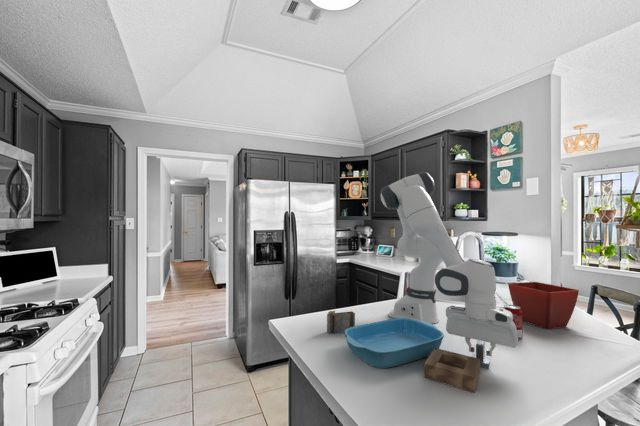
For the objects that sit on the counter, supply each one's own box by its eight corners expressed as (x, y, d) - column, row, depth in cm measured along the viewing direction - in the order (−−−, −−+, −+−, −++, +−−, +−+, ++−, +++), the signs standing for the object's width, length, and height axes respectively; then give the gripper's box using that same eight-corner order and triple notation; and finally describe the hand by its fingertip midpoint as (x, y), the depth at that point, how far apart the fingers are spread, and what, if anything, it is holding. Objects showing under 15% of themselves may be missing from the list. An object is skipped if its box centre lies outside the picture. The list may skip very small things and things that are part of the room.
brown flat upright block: (329, 335, 115) (330, 310, 115) (326, 332, 118) (327, 308, 118) (355, 332, 119) (355, 308, 119) (351, 329, 122) (352, 306, 122)
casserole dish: (371, 380, 82) (371, 354, 83) (332, 349, 102) (332, 329, 102) (456, 354, 100) (456, 333, 100) (408, 332, 119) (408, 314, 120)
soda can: (525, 340, 111) (525, 309, 112) (506, 339, 113) (506, 308, 113) (517, 334, 118) (517, 304, 118) (499, 332, 119) (499, 303, 120)
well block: (424, 377, 84) (424, 363, 84) (434, 360, 94) (434, 347, 95) (474, 393, 76) (474, 377, 77) (480, 372, 87) (480, 358, 87)
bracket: (470, 364, 92) (470, 343, 92) (472, 358, 96) (472, 338, 96) (488, 369, 89) (488, 347, 89) (490, 362, 93) (489, 342, 94)
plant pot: (535, 315, 143) (535, 281, 144) (580, 328, 125) (580, 289, 126) (507, 318, 137) (506, 283, 138) (550, 333, 119) (549, 292, 120)
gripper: (443, 306, 97) (443, 348, 96) (517, 319, 85) (518, 366, 85) (447, 302, 102) (447, 342, 101) (517, 313, 90) (518, 358, 90)
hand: (480, 353), depth 93 cm, fingers open, 3 cm apart
